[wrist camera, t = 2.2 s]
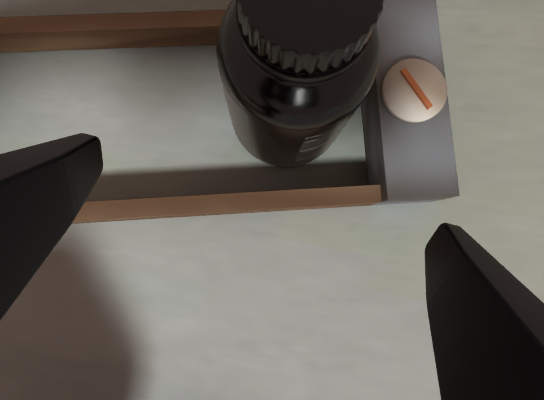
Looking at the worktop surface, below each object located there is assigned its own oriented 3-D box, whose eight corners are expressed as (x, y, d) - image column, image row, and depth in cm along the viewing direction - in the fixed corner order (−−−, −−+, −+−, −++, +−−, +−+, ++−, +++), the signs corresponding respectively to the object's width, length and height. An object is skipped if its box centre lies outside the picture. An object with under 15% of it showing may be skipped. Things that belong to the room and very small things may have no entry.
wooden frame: (432, 201, 23) (465, 194, 19) (-81, 232, 21) (-150, 231, 18) (412, 22, 24) (440, -16, 20) (-74, 40, 22) (-136, 2, 19)
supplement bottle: (337, 66, 23) (420, -112, 12) (338, 169, 23) (429, 93, 11) (231, 64, 23) (205, -122, 11) (229, 168, 22) (199, 88, 11)
